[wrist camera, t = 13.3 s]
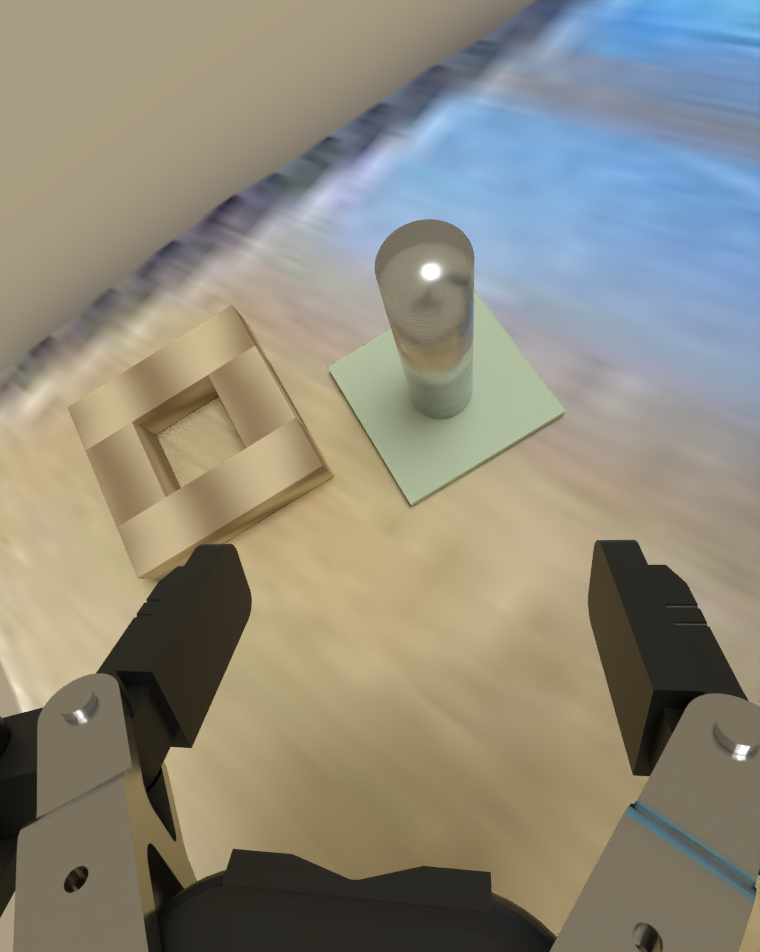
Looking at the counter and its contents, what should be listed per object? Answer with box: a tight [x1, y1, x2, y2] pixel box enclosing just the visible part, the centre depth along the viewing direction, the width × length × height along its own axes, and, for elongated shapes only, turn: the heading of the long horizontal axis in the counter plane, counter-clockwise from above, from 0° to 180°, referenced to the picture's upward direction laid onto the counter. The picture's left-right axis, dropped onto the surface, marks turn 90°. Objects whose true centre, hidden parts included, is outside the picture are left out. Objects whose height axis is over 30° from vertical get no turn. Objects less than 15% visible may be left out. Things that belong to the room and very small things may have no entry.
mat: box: [328, 290, 565, 506], centre depth 31 cm, size 10×10×1 cm
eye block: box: [68, 305, 334, 580], centre depth 32 cm, size 12×12×2 cm
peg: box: [375, 219, 474, 419], centre depth 25 cm, size 4×4×12 cm
